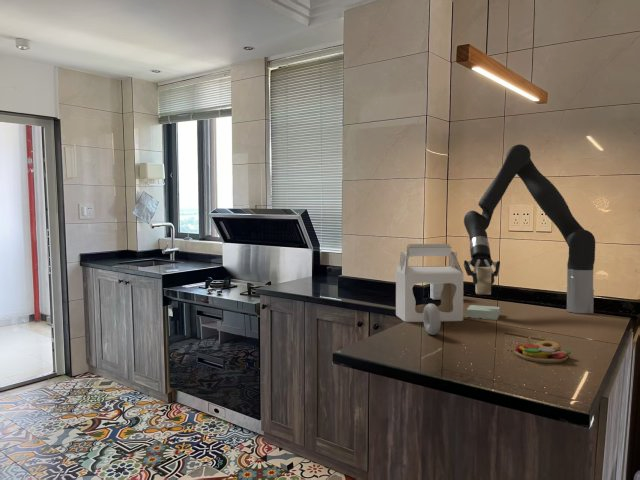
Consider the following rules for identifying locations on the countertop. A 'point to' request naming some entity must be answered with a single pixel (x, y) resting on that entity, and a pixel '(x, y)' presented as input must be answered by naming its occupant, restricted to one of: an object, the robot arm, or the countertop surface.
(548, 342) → the toy food set
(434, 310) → the donut
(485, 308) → the base slab
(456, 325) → the countertop surface
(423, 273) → the gable box
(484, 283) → the maple block
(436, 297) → the supplement box
